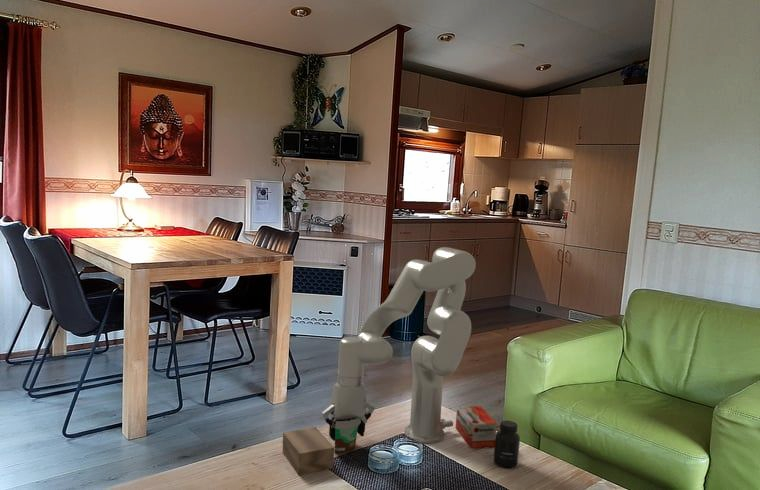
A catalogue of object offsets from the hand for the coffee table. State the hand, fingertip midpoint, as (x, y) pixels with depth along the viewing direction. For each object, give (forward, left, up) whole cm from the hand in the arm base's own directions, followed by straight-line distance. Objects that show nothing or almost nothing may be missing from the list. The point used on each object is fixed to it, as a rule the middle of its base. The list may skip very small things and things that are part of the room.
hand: (346, 436), depth 169 cm
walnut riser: (+13, +3, -3) cm, 14 cm away
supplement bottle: (-39, +26, -4) cm, 47 cm away
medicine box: (-40, +9, -4) cm, 42 cm away
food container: (-1, 0, -4) cm, 4 cm away
